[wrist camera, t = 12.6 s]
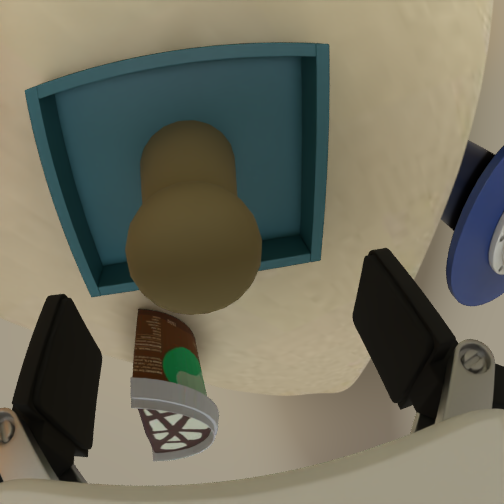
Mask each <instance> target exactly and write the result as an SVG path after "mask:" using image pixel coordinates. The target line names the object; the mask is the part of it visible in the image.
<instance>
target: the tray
mask: <svg viewBox="0 0 504 504" xmlns="http://www.w3.org/2000/svg"><path fill="white" fill-rule="evenodd" d="M25 95H26V100H27V106H28V110H29V115H30V120H31V124H32V129H33V133H34V137H35V141H36V145H37V149H38V153H39V157H40V160H41V164H42V167H43V171H44V174H45V178H46V181H47V184H48V187H49V190H50V194H51V197H52V200H53V203H54V206H55V209H56V211H57V214H58V217H59V220H60V223H61V225H62V228H63V231H64V233H65V236H66V239H67V241H68V244H69V246H70V249H71V251H72V254H73V256H74V259H75V261H76V263H77V266H78V268H79V270H80V273H81V275H82V277H83V280H84V282H85V284H86V286H87V288H88V291H89V293H90V295H91V297H97V296H101V295H109V294H116V293H123V292H130V291H136V290H139V288H138V287H137V285H136V284H135V282H134V281H133V279H132V278H131V276H130V272H129V267H128V263H127V258H126V253H125V247H126V241H127V235H128V230H129V226H130V223H131V221H132V220H133V218H134V216H135V215H136V213H137V211H138V210H139V208H140V207H141V205H142V194H141V174H140V161H141V157H142V153H143V149H144V147H145V146H146V144H147V143H148V141H149V140H150V138H151V137H152V136H153V135H154V134H155V133H156V132H158V131H159V130H160V129H161V128H163V127H164V126H167V125H169V124H172V123H174V122H177V121H186V120H196V121H200V122H203V123H207V124H210V125H211V126H213V127H214V128H216V129H217V130H219V131H220V132H222V133H223V135H224V136H225V137H226V139H227V140H228V141H229V143H230V144H231V147H232V150H233V153H234V156H235V168H236V182H237V197H238V198H240V199H241V200H242V201H243V203H244V204H245V205H246V206H247V208H248V209H249V210H250V211H251V213H252V214H253V216H254V218H255V220H256V222H257V225H258V228H259V232H260V235H261V238H262V253H261V265H260V268H259V270H258V271H262V270H267V269H273V268H279V267H285V266H291V265H297V264H302V263H308V262H314V261H320V260H321V250H322V238H323V226H324V212H325V197H326V181H327V161H328V135H329V44H321V43H245V44H229V45H217V46H206V47H197V48H189V49H182V50H175V51H168V52H162V53H156V54H151V55H146V56H140V57H135V58H131V59H126V60H122V61H117V62H113V63H109V64H105V65H101V66H97V67H94V68H90V69H86V70H83V71H79V72H76V73H73V74H70V75H66V76H63V77H60V78H57V79H54V80H51V81H48V82H46V83H43V84H40V85H37V86H35V87H32V88H29V89H27V90H25Z"/></svg>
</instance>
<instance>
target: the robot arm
mask: <svg viewBox="0 0 504 504" xmlns="http://www.w3.org/2000/svg"><path fill="white" fill-rule="evenodd" d="M489 264H490V266H491V268H492V269H493V270H494V271H495V272H496V273H497V274H500V275H504V212H503V214H502V216H501V217H500V219H499V222H498V224H497V226H496V228H495V231H494V233H493V236H492V240H491V243H490V248H489ZM353 322H354V325H355V327H356V329H357V331H358V333H359V335H360V337H361V339H362V341H363V343H364V345H365V347H366V349H367V351H368V353H369V355H370V357H371V359H372V361H373V363H374V365H375V367H376V369H377V370H378V373H379V375H380V377H381V379H382V381H383V383H384V385H385V387H386V390H387V391H388V394H389V396H390V398H391V400H392V401H393V402H394V403H398V406H399V407H400V409H403V408H406V407H409V406H411V405H413V406H414V408H415V410H416V416H415V419H414V422H413V426H412V429H411V432H410V434H409V435H407V436H405V437H402V438H399V439H396V440H393V441H391V442H388V443H385V444H382V445H379V446H377V447H374V448H371V449H368V450H365V451H362V452H359V453H356V454H352V455H349V456H346V457H342V458H339V459H336V460H332V461H328V462H325V463H320V464H316V465H312V466H308V467H304V468H300V469H296V470H291V471H286V472H281V473H276V474H270V475H265V476H259V477H253V478H247V479H240V480H231V481H223V482H214V483H203V484H190V485H171V486H123V485H102V484H88V483H87V482H86V480H85V479H84V478H83V476H82V475H81V473H80V472H79V471H78V469H77V468H76V466H75V465H74V456H81V457H88V449H91V447H92V443H93V431H94V420H95V411H96V401H97V394H98V386H99V379H100V372H101V365H102V354H101V351H100V349H99V348H98V346H97V344H96V343H95V341H94V339H93V337H92V336H91V334H90V332H89V330H88V329H87V327H86V325H85V323H84V321H83V320H82V318H81V316H80V314H79V312H78V310H77V308H76V306H75V304H74V302H73V301H72V299H71V298H68V297H67V296H66V295H65V294H59V295H51V296H48V297H47V299H46V301H45V303H44V306H43V308H42V311H41V314H40V316H39V319H38V321H37V324H36V327H35V330H34V332H33V335H32V338H31V341H30V344H29V347H28V350H27V353H26V356H25V359H24V362H23V365H22V369H21V372H20V375H19V379H18V382H17V386H16V389H15V393H14V397H13V401H12V404H13V408H12V410H11V409H9V408H0V504H504V367H503V366H500V365H498V364H495V360H494V356H493V354H492V352H491V350H490V349H489V348H488V347H487V346H486V345H485V344H484V343H482V342H480V341H478V340H473V339H467V340H464V341H462V342H460V343H459V344H458V342H457V341H456V338H455V336H454V335H453V333H452V332H451V330H450V329H449V328H448V326H447V325H446V323H445V322H444V320H443V319H442V318H441V316H440V315H439V313H438V312H437V311H436V309H435V308H434V307H433V305H432V304H431V302H430V301H429V300H428V298H427V297H426V296H425V294H424V293H423V292H422V290H421V289H420V288H419V287H418V285H417V284H416V283H415V281H414V280H413V279H412V277H411V276H410V275H409V274H408V272H407V271H406V270H405V268H404V267H403V266H402V265H401V263H400V262H399V261H398V260H397V258H396V257H395V256H394V255H393V254H392V252H391V251H390V250H389V249H388V248H383V249H377V250H371V251H370V252H369V254H368V256H365V258H364V262H363V267H362V273H361V278H360V283H359V288H358V292H357V297H356V302H355V306H354V311H353Z"/></svg>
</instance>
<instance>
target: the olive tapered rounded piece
mask: <svg viewBox="0 0 504 504" xmlns="http://www.w3.org/2000/svg"><path fill="white" fill-rule="evenodd" d="M140 174H141V194H142V205H141V207H140V208H139V210H138V211H137V213H136V215H135V216H134V218H133V220H132V221H131V223H130V226H129V230H128V235H127V241H126V247H125V253H126V258H127V263H128V267H129V272H130V276H131V278H132V279H133V281H134V282H135V284H136V285H137V287H138V288H139V290H140V291H141V292H142V293H143V294H144V295H145V296H146V297H147V298H148V299H150V300H151V301H152V302H153V303H155V304H156V305H157V306H159V307H161V308H164V309H166V310H169V311H171V312H174V313H181V314H188V315H194V314H205V313H210V312H213V311H216V310H219V309H223V308H225V307H227V306H228V305H230V304H231V303H233V302H235V301H236V300H238V299H239V298H240V297H241V296H242V295H243V294H244V293H245V292H246V290H247V289H248V288H249V287H250V286H251V284H252V282H253V281H254V279H255V276H256V274H257V272H258V270H259V268H260V265H261V253H262V238H261V235H260V232H259V228H258V225H257V222H256V220H255V218H254V216H253V214H252V213H251V211H250V210H249V209H248V208H247V206H246V205H245V204H244V203H243V201H242V200H241V199H240V198H238V197H237V182H236V168H235V156H234V153H233V150H232V147H231V144H230V143H229V141H228V140H227V139H226V137H225V136H224V135H223V133H222V132H220V131H219V130H217V129H216V128H214V127H213V126H211V125H210V124H207V123H203V122H200V121H196V120H186V121H177V122H174V123H172V124H169V125H167V126H164V127H163V128H161V129H160V130H159V131H158V132H156V133H155V134H154V135H153V136H152V137H151V138H150V140H149V141H148V143H147V144H146V146H145V147H144V149H143V153H142V157H141V161H140Z"/></svg>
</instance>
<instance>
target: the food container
mask: <svg viewBox="0 0 504 504" xmlns="http://www.w3.org/2000/svg"><path fill="white" fill-rule="evenodd" d="M131 408H138V410H139V413H140V416H141V420H142V423H143V426H144V430H145V433H146V435H147V437H148V439H149V441H150V443H151V446H152V450H153V461H167V460H175V459H181V458H185V457H189V456H192V455H195V454H198V453H200V452H202V451H204V450H206V449H207V448H208V447H210V446H211V444H212V443H213V442H214V439H215V435H216V434H217V430H218V419H219V412H218V408H217V406H216V405H215V403H214V402H213V401H212V400H211V399H210V398H208V397H207V394H206V390H205V386H204V381H203V376H202V371H201V367H200V362H199V357H198V352H197V347H196V342H195V338H194V335H193V333H192V331H191V330H190V328H189V327H188V326H187V325H186V324H184V323H183V322H182V321H180V320H179V319H177V318H175V317H173V316H171V315H168V314H166V313H162V312H158V311H153V310H142V309H138V317H137V326H136V337H135V349H134V362H133V377H131Z"/></svg>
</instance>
